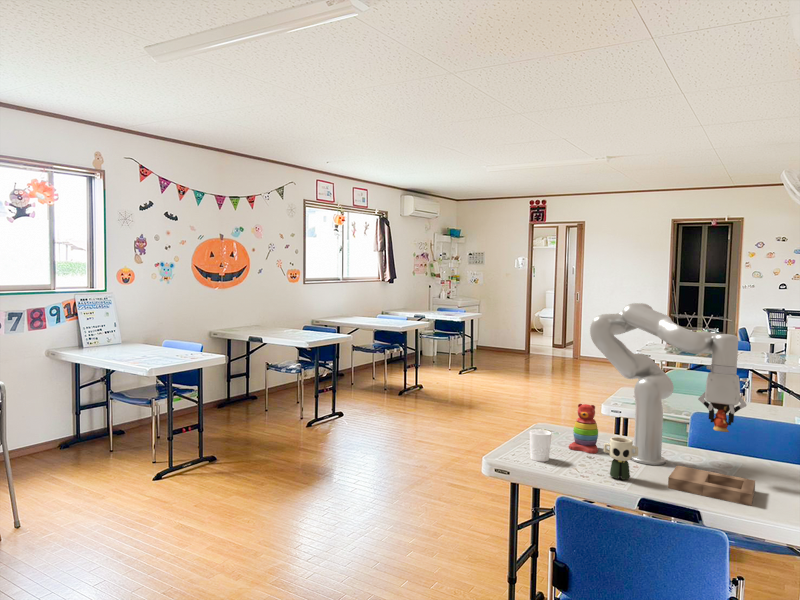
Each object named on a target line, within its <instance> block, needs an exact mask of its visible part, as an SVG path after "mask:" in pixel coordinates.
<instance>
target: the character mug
mask: <svg viewBox="0 0 800 600" xmlns="http://www.w3.org/2000/svg"><path fill="white" fill-rule="evenodd" d="M633 445H634V440H632V439H630V438H626V437H622V436H612V437H610V439H609V443H608V442H604V443H603V453H606V454H609V457H610V458H611V459H612V461H611V465H610V471H609V475H610V477H612V478H614V479H619V478H621V480H628V479H630V463H629V461H630V460H631V458H632V456H638V447H636V446H633ZM608 447H609V449H608ZM632 449H635V453H632ZM631 461H632V460H631Z"/></svg>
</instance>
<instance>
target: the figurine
mask: <svg viewBox="0 0 800 600" xmlns="http://www.w3.org/2000/svg"><path fill="white" fill-rule="evenodd" d="M711 404H712V406H713V408H714V409H715V410H717V412H716V413H715V416H714V420H713V422H712V423H713V424H714V426H713V428H712V429H713V430H714V431H716V432H720V433H721V432H722V433H730V431H729V430H728V427H729V425H728V417H727V414H728V413H729V412H730V407H729V405H725V404H718V403H711Z"/></svg>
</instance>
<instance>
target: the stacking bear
mask: <svg viewBox="0 0 800 600" xmlns="http://www.w3.org/2000/svg"><path fill="white" fill-rule="evenodd" d="M577 415H578V417H577V418H576V421H575V422H574V426H573V433H572V434H573V439H574V441H573V442H571V443H569V445H568V449H569V450H572V451H578V452H583V453H584V452H585V453H587V454H590V455H591V454H593V455H595V454H597V453H598V451H599V449H598V448H599V447H598V446H597V442H598V439H599V438H598V437H599V429H598V424H597V421H596V420H595V416H596V406H595V405H594V404H585V403H584V404H583V403H578V405H577Z"/></svg>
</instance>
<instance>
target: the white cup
mask: <svg viewBox="0 0 800 600" xmlns="http://www.w3.org/2000/svg"><path fill="white" fill-rule="evenodd" d="M551 445H552V432H551V431H549V430H546V429H530V430H529V453H530V454H529V456H530V457H529V458H530V459H531V460H532V461H536V462H548V461H549V460H550V451H551Z"/></svg>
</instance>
